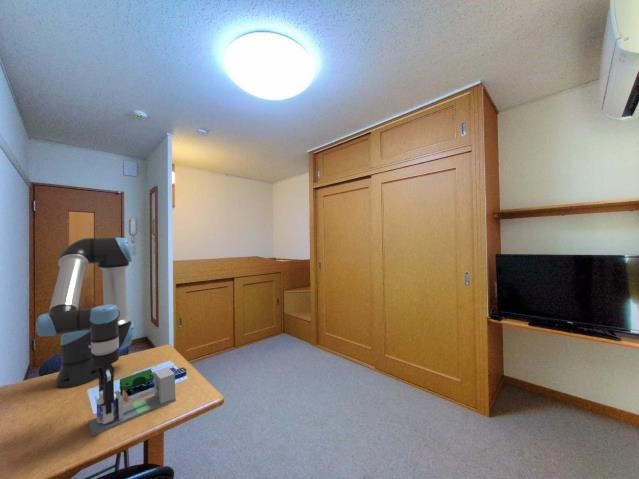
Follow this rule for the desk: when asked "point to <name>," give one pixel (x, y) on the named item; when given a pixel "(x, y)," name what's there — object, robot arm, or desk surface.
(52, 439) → the desk surface
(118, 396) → the plunger
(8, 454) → the desk surface
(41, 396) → the desk surface
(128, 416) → the base
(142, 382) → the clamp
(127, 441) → the desk surface
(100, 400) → the pill bottle
